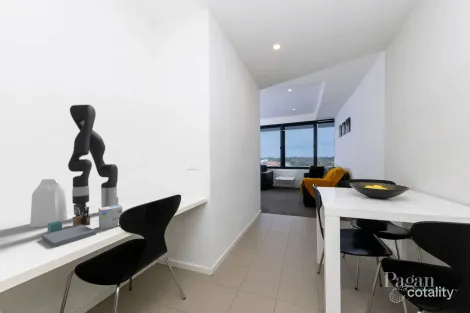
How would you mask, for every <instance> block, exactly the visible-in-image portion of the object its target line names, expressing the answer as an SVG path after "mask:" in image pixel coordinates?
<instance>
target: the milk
mask: <svg viewBox="0 0 470 313" xmlns="http://www.w3.org/2000/svg"><path fill="white" fill-rule="evenodd" d="M66 220H68V211H67V199H66V190H65V188H64V187H63V186H62V185H61V184H60V183H59V182H58V181H57V178H43V179H41V182H40V183H39V184H38V185H37V187H36V188H35V189H34V191H33V192H32V195H31V208H30V226H29V228H37V227H38V228H40V227H48V223H51V222H55V221H60V222H62V223H63V222H65V221H66Z"/></svg>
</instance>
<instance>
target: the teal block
mask: <svg viewBox="0 0 470 313" xmlns="http://www.w3.org/2000/svg"><path fill="white" fill-rule="evenodd" d="M60 230H63V222H60V221H55V222H51V223H48V226H47V232H48V233H52V232H56V231H60Z"/></svg>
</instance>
